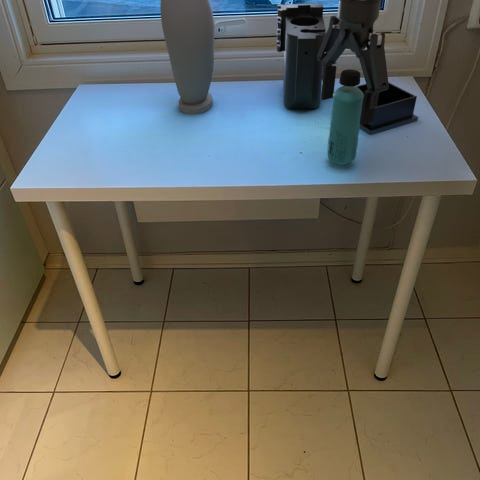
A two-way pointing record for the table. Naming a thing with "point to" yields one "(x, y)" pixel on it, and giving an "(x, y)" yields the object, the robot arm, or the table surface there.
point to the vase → (190, 50)
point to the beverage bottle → (345, 118)
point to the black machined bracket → (301, 53)
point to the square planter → (391, 109)
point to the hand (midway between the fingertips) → (345, 110)
